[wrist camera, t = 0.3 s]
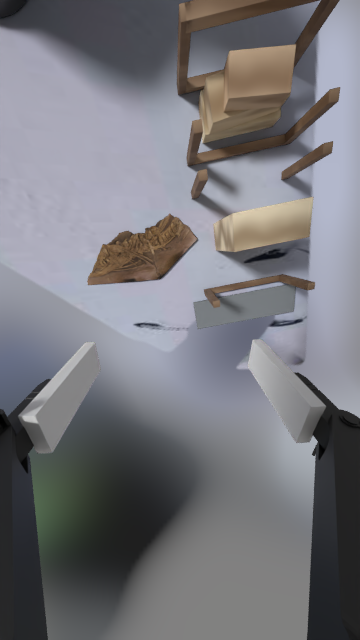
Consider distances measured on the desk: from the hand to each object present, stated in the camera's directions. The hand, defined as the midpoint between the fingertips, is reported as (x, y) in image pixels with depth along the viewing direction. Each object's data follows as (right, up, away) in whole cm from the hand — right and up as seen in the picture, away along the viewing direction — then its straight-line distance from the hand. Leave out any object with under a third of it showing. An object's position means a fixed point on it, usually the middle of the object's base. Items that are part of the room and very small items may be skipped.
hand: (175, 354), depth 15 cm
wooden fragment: (-8, +16, +22) cm, 29 cm away
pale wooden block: (+13, +21, +21) cm, 32 cm away
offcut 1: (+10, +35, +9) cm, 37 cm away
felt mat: (+16, +6, +27) cm, 32 cm away
